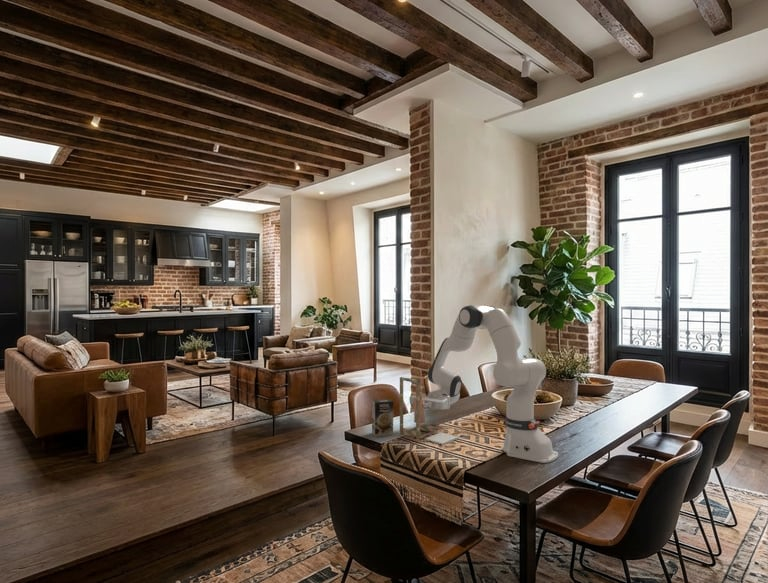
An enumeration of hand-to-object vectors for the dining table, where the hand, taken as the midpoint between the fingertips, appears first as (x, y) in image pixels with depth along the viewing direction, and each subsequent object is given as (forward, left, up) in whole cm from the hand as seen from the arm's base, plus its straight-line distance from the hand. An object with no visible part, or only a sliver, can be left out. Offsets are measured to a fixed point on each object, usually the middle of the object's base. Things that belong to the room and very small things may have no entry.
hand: (418, 404), depth 221 cm
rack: (0, -1, -14) cm, 14 cm away
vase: (0, -1, -8) cm, 8 cm away
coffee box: (+12, +12, -14) cm, 22 cm away
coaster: (-13, -1, -14) cm, 19 cm away
